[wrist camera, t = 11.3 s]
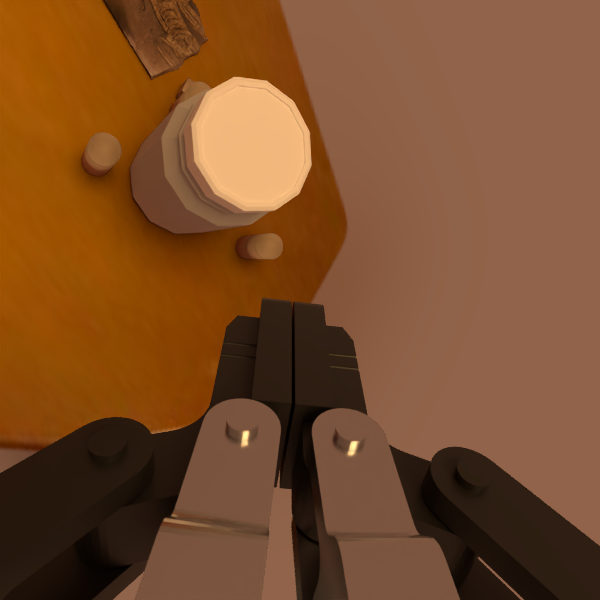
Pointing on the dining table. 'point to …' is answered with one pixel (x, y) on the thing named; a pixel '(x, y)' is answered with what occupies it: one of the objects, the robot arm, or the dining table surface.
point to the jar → (222, 159)
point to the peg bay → (108, 151)
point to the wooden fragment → (160, 31)
